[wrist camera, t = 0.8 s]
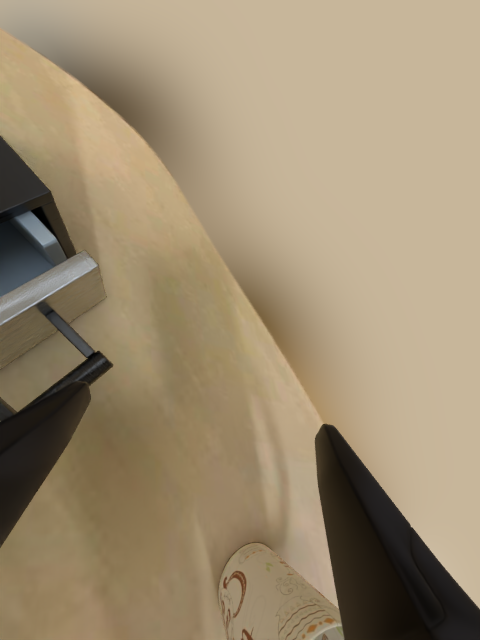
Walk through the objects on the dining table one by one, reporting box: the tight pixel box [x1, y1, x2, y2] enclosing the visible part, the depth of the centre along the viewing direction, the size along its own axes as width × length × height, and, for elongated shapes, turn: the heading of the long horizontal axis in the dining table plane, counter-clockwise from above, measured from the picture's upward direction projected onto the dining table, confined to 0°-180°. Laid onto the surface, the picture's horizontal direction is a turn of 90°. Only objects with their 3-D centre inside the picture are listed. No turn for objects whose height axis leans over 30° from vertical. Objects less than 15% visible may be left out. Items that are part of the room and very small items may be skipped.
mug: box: [218, 543, 344, 640], centre depth 19 cm, size 8×13×10 cm, turn 63°
